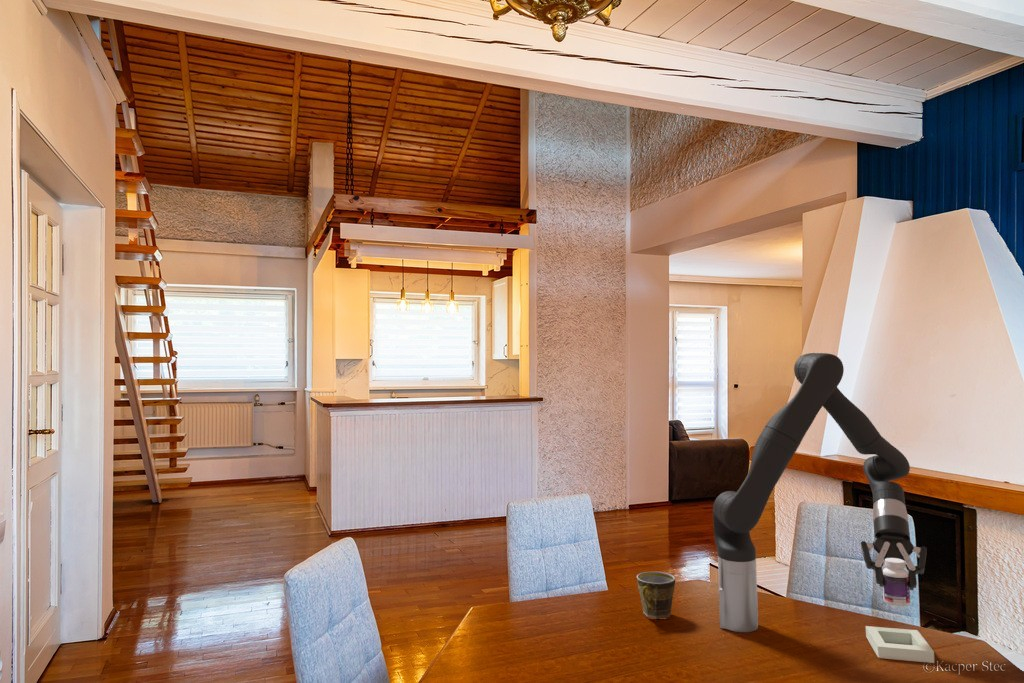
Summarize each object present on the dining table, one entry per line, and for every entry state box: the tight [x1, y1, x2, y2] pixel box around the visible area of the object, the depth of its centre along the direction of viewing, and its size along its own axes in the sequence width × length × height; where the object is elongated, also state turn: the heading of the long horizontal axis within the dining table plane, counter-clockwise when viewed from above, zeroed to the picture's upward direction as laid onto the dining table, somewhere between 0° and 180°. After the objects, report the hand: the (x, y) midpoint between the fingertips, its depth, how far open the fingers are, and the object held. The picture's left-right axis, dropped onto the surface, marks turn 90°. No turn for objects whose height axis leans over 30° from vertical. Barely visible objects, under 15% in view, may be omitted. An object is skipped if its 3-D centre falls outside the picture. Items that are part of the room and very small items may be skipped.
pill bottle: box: [882, 558, 911, 607], centre depth 153 cm, size 5×5×10 cm
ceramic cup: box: [636, 571, 676, 619], centre depth 175 cm, size 13×10×10 cm
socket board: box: [865, 625, 935, 664], centre depth 153 cm, size 11×12×2 cm
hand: (896, 586), depth 152 cm, fingers closed on pill bottle, 5 cm apart
